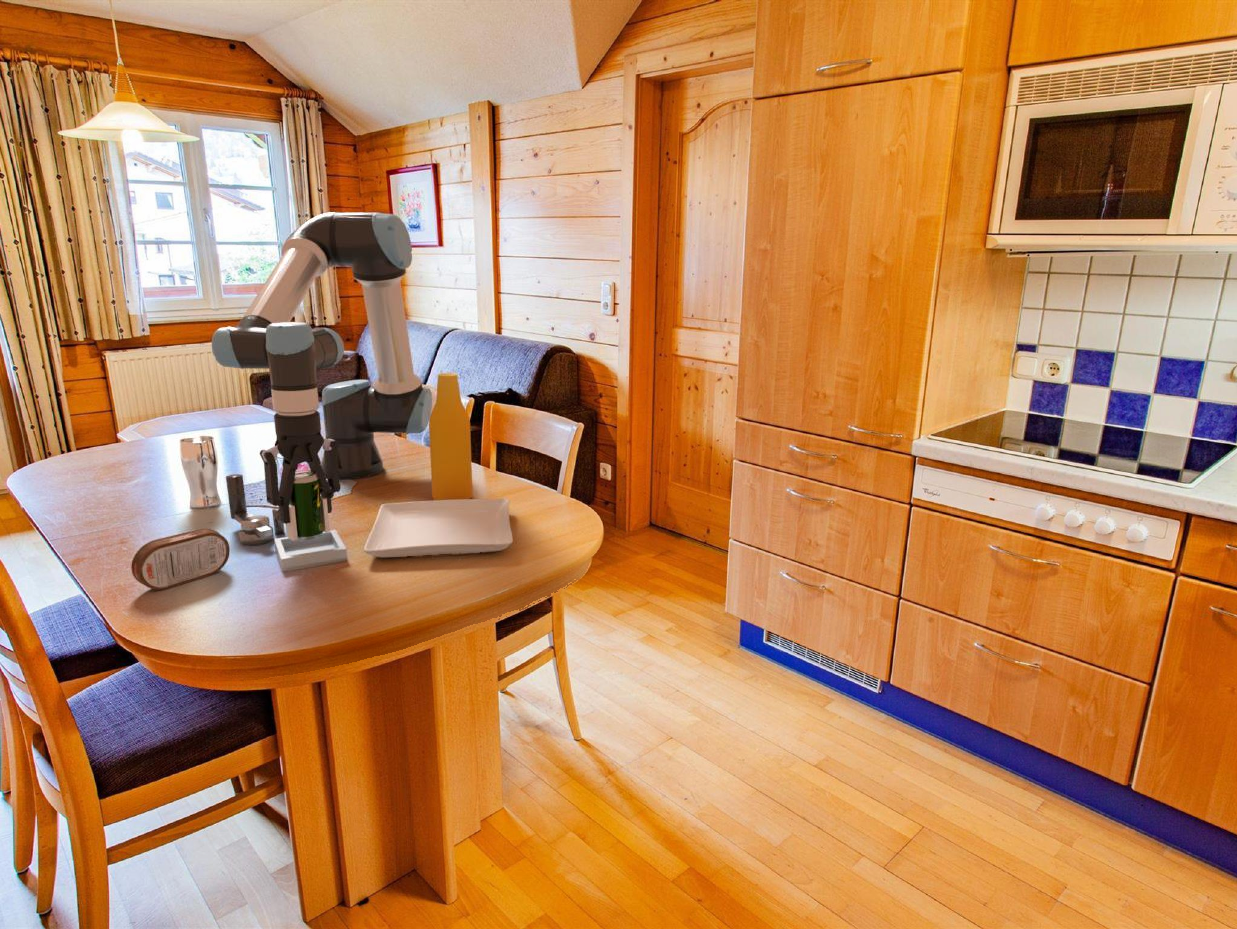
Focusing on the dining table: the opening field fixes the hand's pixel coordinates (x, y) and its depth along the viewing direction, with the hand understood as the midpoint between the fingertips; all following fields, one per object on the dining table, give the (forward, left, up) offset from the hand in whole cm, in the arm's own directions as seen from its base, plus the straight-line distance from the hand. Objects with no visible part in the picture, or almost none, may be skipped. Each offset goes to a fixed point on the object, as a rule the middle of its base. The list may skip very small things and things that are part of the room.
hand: (308, 534), depth 139 cm
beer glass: (+16, -41, -5) cm, 44 cm away
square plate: (-25, +1, -5) cm, 25 cm away
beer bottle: (-34, -21, -5) cm, 40 cm away
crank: (+9, -15, -2) cm, 18 cm away
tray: (0, 0, -4) cm, 4 cm away
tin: (+20, +2, -5) cm, 21 cm away
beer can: (0, 0, -1) cm, 1 cm away
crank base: (+12, -13, -4) cm, 18 cm away
